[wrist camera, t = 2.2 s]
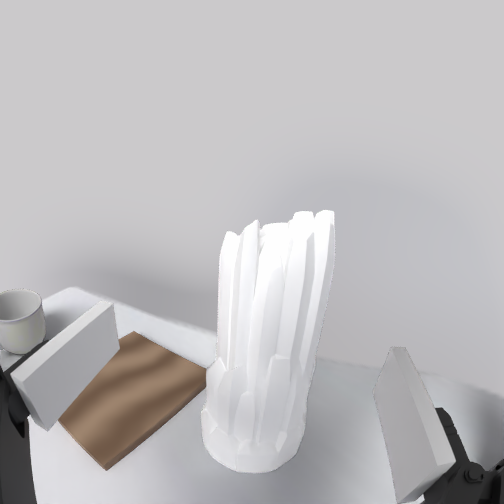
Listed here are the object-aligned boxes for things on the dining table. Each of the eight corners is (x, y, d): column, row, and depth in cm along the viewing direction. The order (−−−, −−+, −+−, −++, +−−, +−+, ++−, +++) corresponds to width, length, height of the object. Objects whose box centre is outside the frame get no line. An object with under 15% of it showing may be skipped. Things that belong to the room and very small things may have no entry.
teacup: (34, 321, 41) (24, 282, 39) (63, 343, 38) (52, 300, 35) (-21, 350, 29) (-36, 308, 26) (0, 381, 25) (-20, 335, 23)
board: (214, 379, 36) (214, 372, 36) (106, 470, 19) (102, 465, 19) (134, 337, 43) (134, 331, 43) (35, 392, 26) (32, 385, 26)
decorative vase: (183, 437, 26) (168, 198, 19) (241, 391, 34) (258, 191, 27) (265, 490, 20) (323, 228, 13) (316, 427, 29) (371, 211, 21)
